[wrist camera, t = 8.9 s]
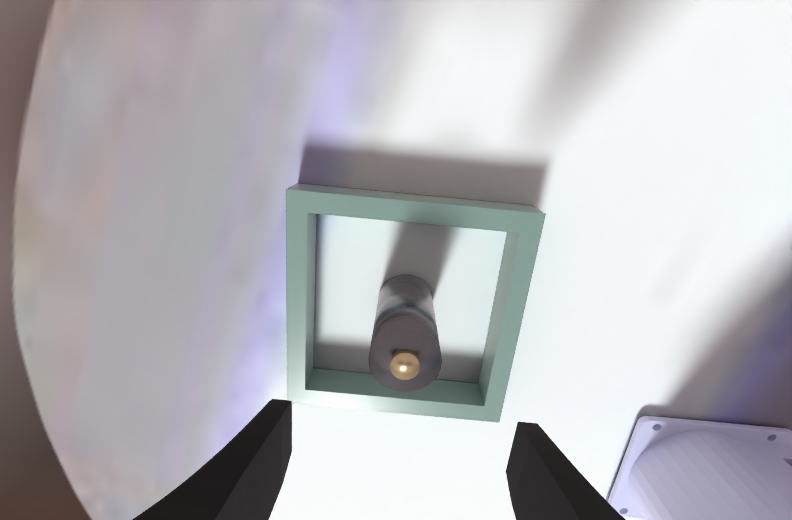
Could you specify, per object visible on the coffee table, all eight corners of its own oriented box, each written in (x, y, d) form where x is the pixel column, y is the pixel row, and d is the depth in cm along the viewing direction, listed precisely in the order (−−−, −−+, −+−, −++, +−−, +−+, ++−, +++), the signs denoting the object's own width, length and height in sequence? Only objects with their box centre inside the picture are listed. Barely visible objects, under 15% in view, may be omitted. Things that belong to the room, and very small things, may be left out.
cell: (435, 278, 21) (447, 339, 15) (428, 326, 22) (436, 401, 16) (381, 271, 21) (371, 330, 15) (376, 320, 22) (364, 393, 16)
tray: (532, 205, 19) (545, 213, 18) (491, 398, 23) (499, 422, 22) (297, 183, 19) (285, 189, 18) (296, 380, 23) (287, 402, 22)
